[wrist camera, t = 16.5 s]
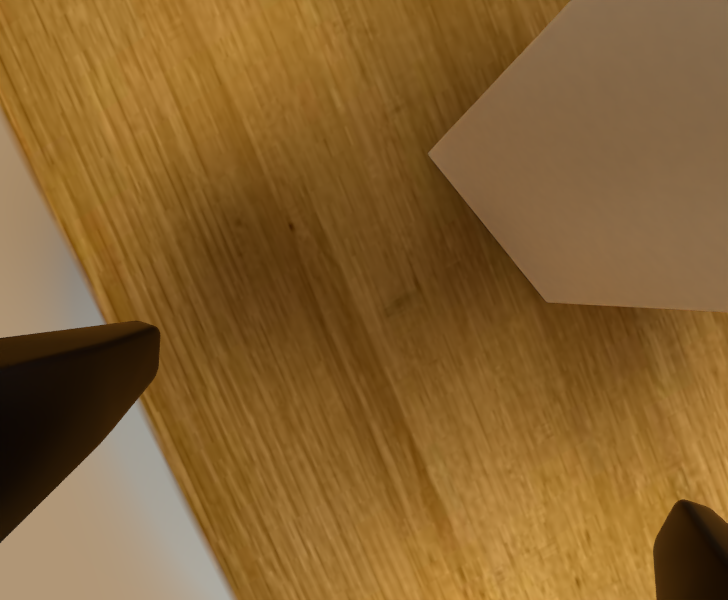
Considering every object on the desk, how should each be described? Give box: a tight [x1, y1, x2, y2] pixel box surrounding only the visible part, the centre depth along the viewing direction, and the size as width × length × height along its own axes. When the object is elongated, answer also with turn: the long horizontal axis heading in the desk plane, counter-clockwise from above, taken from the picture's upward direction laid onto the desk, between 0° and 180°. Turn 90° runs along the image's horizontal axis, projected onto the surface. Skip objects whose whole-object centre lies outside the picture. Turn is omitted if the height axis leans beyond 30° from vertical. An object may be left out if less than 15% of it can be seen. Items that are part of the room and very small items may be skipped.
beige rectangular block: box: [428, 0, 728, 312], centre depth 13 cm, size 3×7×13 cm, turn 40°
